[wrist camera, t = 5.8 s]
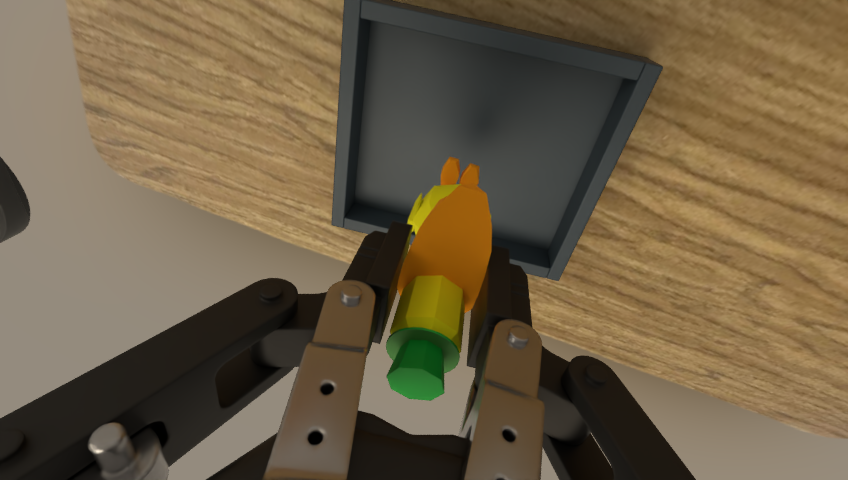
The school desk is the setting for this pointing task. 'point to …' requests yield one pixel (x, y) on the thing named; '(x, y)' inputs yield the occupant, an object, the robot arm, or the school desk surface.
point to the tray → (480, 123)
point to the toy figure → (439, 281)
